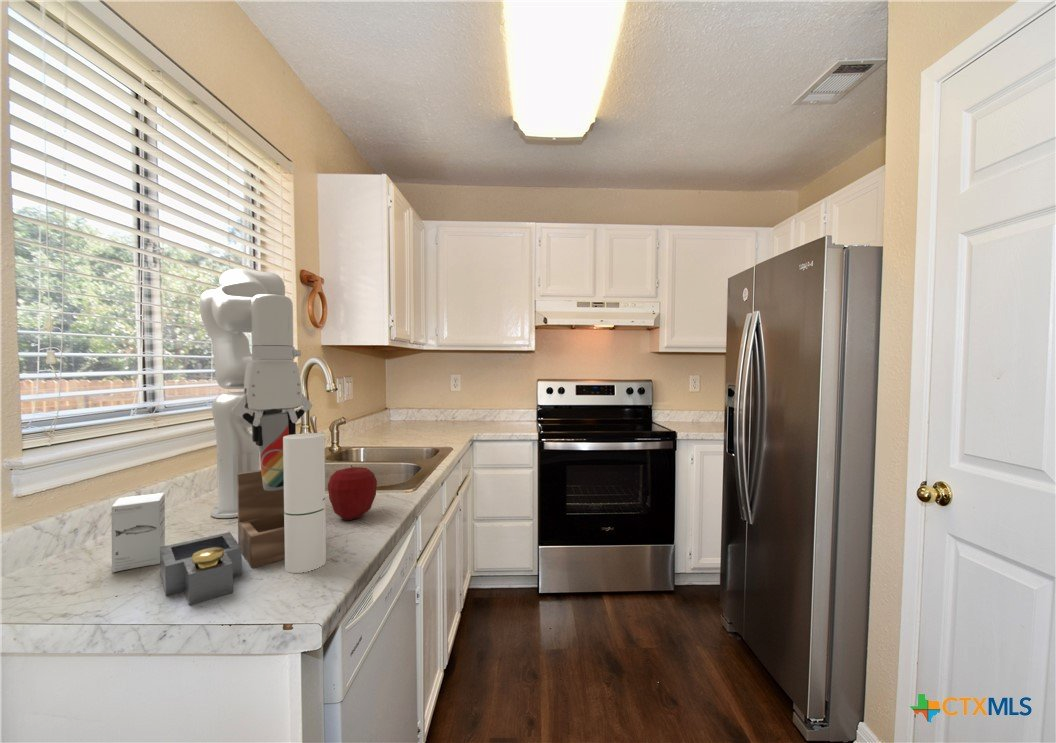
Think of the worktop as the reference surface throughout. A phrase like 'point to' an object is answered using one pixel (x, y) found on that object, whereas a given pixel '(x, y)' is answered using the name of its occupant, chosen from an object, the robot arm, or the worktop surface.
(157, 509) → the supplement box
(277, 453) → the lotion bottle
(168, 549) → the socket
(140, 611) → the worktop surface
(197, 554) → the pin
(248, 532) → the rack
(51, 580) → the worktop surface
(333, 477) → the apple
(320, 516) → the cylindrical container
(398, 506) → the worktop surface
